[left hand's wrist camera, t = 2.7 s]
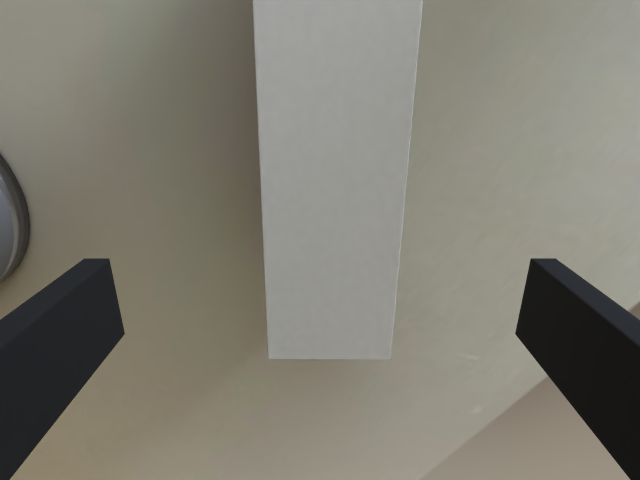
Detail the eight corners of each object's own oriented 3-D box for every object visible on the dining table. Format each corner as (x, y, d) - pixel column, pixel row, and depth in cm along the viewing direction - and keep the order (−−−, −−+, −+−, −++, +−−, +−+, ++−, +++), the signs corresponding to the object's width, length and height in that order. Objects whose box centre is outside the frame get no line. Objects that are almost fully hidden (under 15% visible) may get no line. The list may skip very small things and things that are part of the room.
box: (363, 258, 31) (390, 360, 20) (286, 258, 31) (267, 359, 20) (385, -152, 22) (460, -410, 11) (277, -154, 22) (233, -415, 11)
